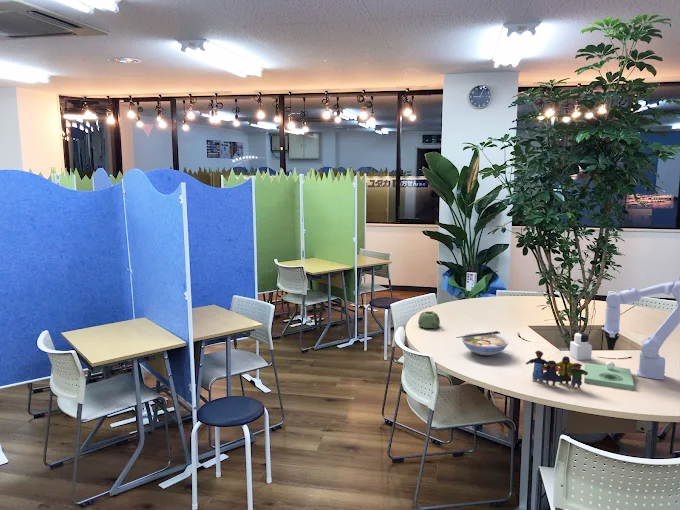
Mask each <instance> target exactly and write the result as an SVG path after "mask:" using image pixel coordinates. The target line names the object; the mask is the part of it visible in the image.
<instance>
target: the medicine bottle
mask: <svg viewBox="0 0 680 510" xmlns="http://www.w3.org/2000/svg"><path fill="white" fill-rule="evenodd" d="M573 339H574V340H573V341H572V340H571V341H569V342H570V343H569V344H570V345H569V356H570V357H572V358H574V359H575V360H576V361H590V360H592V352H593V345H592V344H590V343H589V335H588V334H587V333H585V332H576V333H574V338H573Z"/></svg>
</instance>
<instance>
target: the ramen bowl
mask: <svg viewBox="0 0 680 510" xmlns="http://www.w3.org/2000/svg"><path fill="white" fill-rule="evenodd" d="M500 334H501V332H500V331H497V330H495V331H488V332H471V333H467V334H466V333H465V334H464V335H462V336H456V338H457V339H458V338H459V339H460V338H461V340H462V343H463V345H464V346H465V347H466V349H468V350H469V351H471V352H472V353H475V354H477V355H479V354H480V355H479V356H482V355H490V356H492V355H498V354H499V353H501V352H502V351H504V350H505V349H506V348H507V346H508V345H509V339H507V338H506V337H504V336H501V335H500Z"/></svg>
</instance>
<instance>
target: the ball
mask: <svg viewBox="0 0 680 510" xmlns="http://www.w3.org/2000/svg"><path fill="white" fill-rule="evenodd" d="M605 366H606V367H607V368H608V369H614V367H616V365H615V363H614V362H613V361H611V360H610V361H609V360H608V361H607V362H605Z"/></svg>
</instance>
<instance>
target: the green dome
mask: <svg viewBox="0 0 680 510" xmlns="http://www.w3.org/2000/svg"><path fill="white" fill-rule="evenodd" d="M440 320H441V319H440V316H439V314H438V313H436V312H435V311H433V310H431V311H429V310H428V311H423V312H421V313H420V315H419V316H418V320H417V321H418V322H417V323H418V326H419V327H420V328H422V327H423V329H426V328H434V329H437V328H438V327H440V324H441V321H440Z"/></svg>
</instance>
